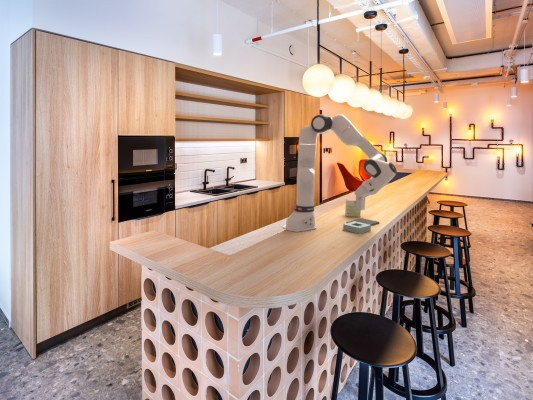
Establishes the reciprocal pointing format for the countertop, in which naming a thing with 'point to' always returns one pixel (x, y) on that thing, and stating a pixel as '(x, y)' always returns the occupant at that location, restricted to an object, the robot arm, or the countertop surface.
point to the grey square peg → (360, 203)
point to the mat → (365, 221)
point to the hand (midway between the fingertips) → (359, 198)
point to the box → (351, 208)
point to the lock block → (357, 227)
